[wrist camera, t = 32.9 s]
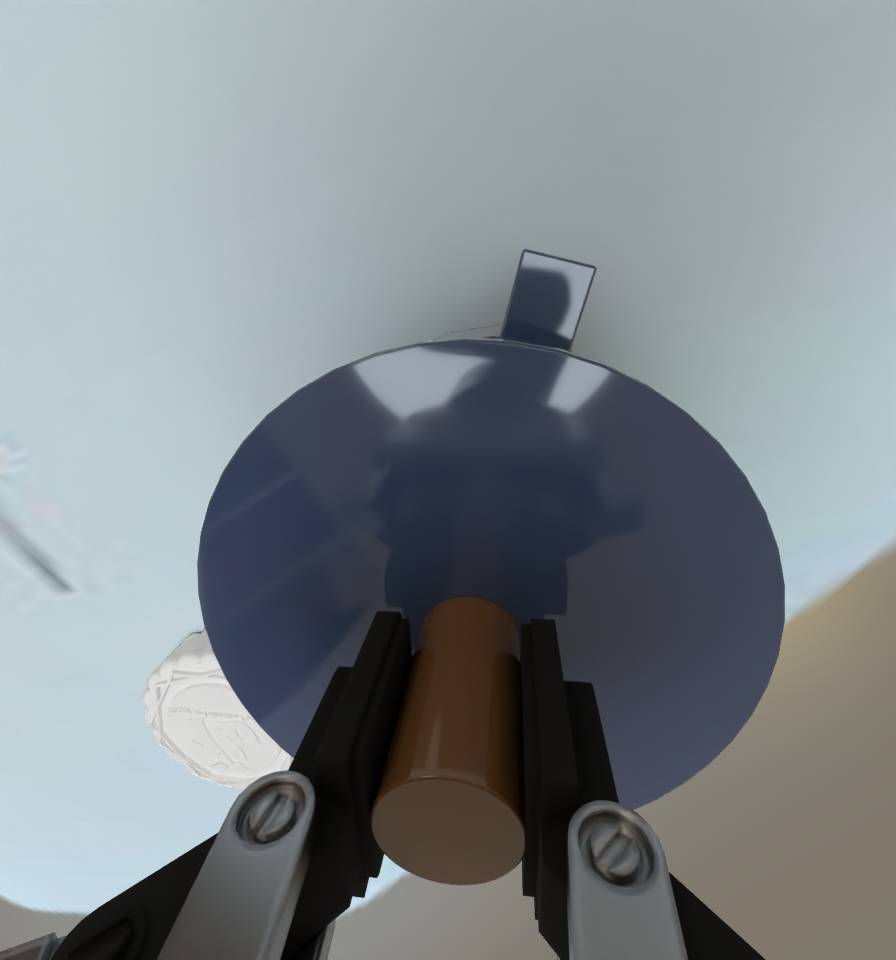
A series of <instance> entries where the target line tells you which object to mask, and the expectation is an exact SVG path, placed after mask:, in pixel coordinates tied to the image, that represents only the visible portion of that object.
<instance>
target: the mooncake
mask: <svg viewBox="0 0 896 960" xmlns="http://www.w3.org/2000/svg"><path fill="white" fill-rule="evenodd" d="M143 703H144V705H145V706H146V707H147V709H146V711H145V720H146V722H147V723H148V724H149V726H150V727H151V728H152V729H153V736H154V738H155V740H156V741H157V742H158V743H159V745H160V746H161V747H163V748H164V749H166V750H167V752H168V754H169V756H170V757H171V758H172V759H174V760H175V761H177V762H181V763H184V764H185V766H186V768H187V769H188V770H189V771H190V772H191V773H193V774H195V775H196V776H197V777H198V778H202V779H209V780H210V781H211V782H213V783H215V784H218V785H221V786H223V787H230V786H232V787H234V788H236V789H239V790H245V789H246V788H247V787H248V786H249V785H250V784H251V783H253V782H254V781H256V780H258V779H259V778H261V777H262V776H265V775H268V774H270V773H273V772H277V771H286V770H288V769H289V767H290V765H291V763H292V761H293V759H294V758H293V757H291V756H290V755H289V754H288V753H287V752H285V751H284V750H283V749H282V748H281V747H280V746H279V745H278V744H277V743H276V742H275V741H274V740H273V739H272V738H271V737H270V736H269V735H268V734H267V733H266V732H265V731H264V730H263V729H262V728H261V727H260V726H259V725H258V724H257V722H256V721H255V720H254V719H253V717H252V716H251V715H250V714H249V712H248V711H247V710H246V709H245V707H244V706H243V705H242V704H241V702H240V700H239V699H238V697H237V696H236V694H235V692H234V691H233V689H232V688H231V686H230V685H229V683H228V681H227V680H226V678H225V676H224V674H223V672H222V670H221V668H220V665H219V663H218V661H217V659H216V657H215V655H214V653H213V650H212V647H211V644H210V641H209V638H208V635H207V632H206V629H205V630H204V631H203V632H202V633H201V634H198V633H197V634H192V635H190V636H188V637H187V638H186V639H185V640H184V641H183V642H182V643H181V644H180V645H179V646H178V647H177V648H176V649H175V650H174V651H173V652H172V653H171V654H170V655H169V656H168V657H167V658H166V659H165V661H164V662H163V663H162V664H161V665H160V666H159V667H158V668H157V669H156V670H155V671H154V672H153V673H152V674H151V675H150V676H149V678H148V688H147V689H146V691H145V692H144V694H143Z"/></svg>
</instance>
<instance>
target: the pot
mask: <svg viewBox="0 0 896 960" xmlns="http://www.w3.org/2000/svg"><path fill="white" fill-rule="evenodd" d="M595 273H596V267H595V266H593V265H589V264H585V263H581V262H577V261H573V260H569V259H565V258H560V257H556V256H552V255H548V254H544V253H540V252H536V251H532V250H528V249H524V250H523V251H522V254H521V258H520V262H519V265H518V269H517V273H516V277H515V281H514V284H513V288H512V292H511V296H510V299H509V303H508V307H507V311H506V315H505V318H504V322H503V325H494V326H488V327H482V328H473V329H469V330H463V331H457V332H451V333H445V334H443V335H441V336H439V337H437V338H435V339H433V340H431V341H434V340H445V339H455V338H490V339H512V340H517V341H523V342H529V343H534V344H540V345H545V346H551V347H556V348H560V349H563V350H566V351H569V352H571V351H570V350H571V347H572V344H573V341H574V338H575V335H576V331H577V328H578V325H579V322H580V319H581V316H582V313H583V310H584V307H585V304H586V300H587V297H588V294H589V291H590V288H591V285H592V282H593V279H594V276H595Z"/></svg>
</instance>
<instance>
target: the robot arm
mask: <svg viewBox="0 0 896 960" xmlns="http://www.w3.org/2000/svg"><path fill="white" fill-rule="evenodd" d="M411 660H412V649H411V635H410V622H409V619H406V618H402V615H401V613H400V612H390V611H377V612H376V614H375V616H374V619H373V621H372V623H371V626H370V628H369V630H368V633H367V635H366V637H365V640H364V642H363V644H362V647H361V649H360V651H359V654H358V656H357V658H356V661H355V663H354V665H353V667H344V666H339V667H338V668H337V669H336V671H335V672H334V674H333V676H332V678H331V681H330V683H329V685H328V687H327V689H326V691H325V693H324V695H323V697H322V700H321V702H320V704H319V706H318V708H317V710H316V712H315V714H314V716H313V719H312V721H311V723H310V725H309V727H308V729H307V731H306V733H305V736H304V738H303V740H302V742H301V744H300V746H299V748H298V750H297V752H296V755H295V757H294V759H293V761H292V763H291V765H290V767H289V769H288V770H286V771H277V772H273V773H270V774H268V775H265V776H262V777H261V778H259V779H258V780H256V781H254V782H253V783H251V784H250V785H249V786H248V787H247V788H246V789H245V790H244V791H243V792H242V793H241V794H240V795H239V796H238V797H237V799H236V800H235V802H234V804H233V805H232V807H231V808H230V810H229V812H228V814H227V817H226V819H225V821H224V823H223V825H222V827H221V829H220V831H219V832H218V833H217V834H215V835H214V836H212V837H210V838H209V839H207V840H206V841H204V842H202V843H201V844H199V845H198V846H196V847H194V848H193V849H191V850H190V851H188V852H186V853H185V854H183V855H182V856H180V857H178V858H177V859H175V860H174V861H172V862H170V863H169V864H167V865H166V866H164V867H162V868H161V869H159V870H158V871H156V872H154V873H153V874H151V875H150V876H148V877H146V878H145V879H143V880H142V881H140V882H138V883H137V884H135V885H134V886H132V887H130V888H129V889H127V890H126V891H124V892H122V893H121V894H119V895H118V896H116V897H114V898H113V899H111V900H110V901H108V902H106V903H105V904H103V905H102V906H100V907H99V908H97V909H96V910H95V911H93V912H92V913H91V914H89V915H88V916H87V917H85V918H84V919H83V920H82V921H81V922H80V923H79V924H78V925H77V926H76V927H75V928H74V929H73V930H72V931H71V932H70V933H69V934H68V935H67V936H64V937H61V938H59V939H58V938H57V936H56V934H55V933H51V934H48V935H46V936H43V937H40V938H37V939H34V940H31V941H29V942H26V943H23V944H20V945H18V946H15V947H12V948H9V949H7V950H4V951H1V952H0V960H327V959H328V954H329V950H330V945H331V941H332V936H333V932H334V928H335V919H336V918H337V917H338V916H339V915H340V914H342V913H343V912H344V911H345V910H346V909H348V908H349V907H350V903H351V899H352V896H354V897H362V898H364V897H365V892H366V888H367V884H368V880H369V877H373V878H377V877H378V875H379V873H380V869H381V865H382V861H383V856H384V853H383V852H382V850H381V849H380V848H379V846H378V845H377V843H376V841H375V840H374V837H373V835H372V831H371V823H370V811H371V807H372V803H373V799H374V796H375V792H376V788H377V785H378V781H379V777H380V774H381V770H382V766H383V763H384V759H385V755H386V752H387V748H388V744H389V741H390V737H391V733H392V730H393V726H394V722H395V719H396V715H397V711H398V707H399V704H400V700H401V696H402V693H403V689H404V685H405V682H406V678H407V674H408V671H409V667H410V663H411ZM520 667H521V699H522V730H523V762H524V793H525V825H526V827H525V854H524V856H523V858H522V886H523V896H531V897H534V905H535V919H536V920H538V924H539V932H540V933H541V935H542V936H543V937H544V938H545V940H546V941H547V942H548V944H549V945H550V946H551V948H552V949H553V950H554V951H555V953H556V954H557V956H558V957H557V960H765V959H764V958H763V957H762V956H761V955H760V954H759V953H758V952H757V951H755V950H754V949H753V948H752V947H751V946H750V945H749V944H748V943H746V941H744V940H743V939H742V938H741V937H740V936H739V935H738V934H737V933H736V932H735V931H733V930H732V929H731V928H730V927H729V926H728V925H727V924H726V923H725V922H723V921H722V920H721V919H720V918H719V917H718V916H717V915H716V914H715V913H714V912H712V911H711V910H710V909H709V908H708V907H707V906H706V905H705V904H704V903H703V902H702V901H700V900H699V899H698V898H697V897H696V896H695V895H694V894H693V893H692V892H690V891H689V890H688V889H687V888H686V887H685V886H684V885H683V884H682V883H681V882H679V881H678V880H677V879H676V878H675V877H674V876H673V875H672V874H670V872H668V867H667V863H666V858H665V855H664V851H663V849H662V846H661V843H660V840H659V838H658V837H657V835H656V834H655V832H654V831H653V829H652V828H651V826H650V825H649V824H648V823H647V822H646V821H645V820H644V819H643V818H642V817H641V816H640V815H639V814H638V813H636V812H635V811H633V810H631V809H630V808H628V807H626V806H624V805H622V804H619V800H618V796H617V791H616V787H615V782H614V778H613V773H612V769H611V764H610V760H609V755H608V750H607V746H606V741H605V737H604V732H603V728H602V723H601V719H600V714H599V710H598V705H597V701H596V696H595V692H594V688H593V685H592V683H591V682H577V681H564V679H563V672H562V665H561V658H560V652H559V645H558V638H557V631H556V624H555V620H554V619H534V618H531V621H530V625H525V624H522V625H521V657H520Z"/></svg>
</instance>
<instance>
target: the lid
mask: <svg viewBox="0 0 896 960" xmlns="http://www.w3.org/2000/svg"><path fill="white" fill-rule="evenodd" d="M197 567H198V593H199V600H200V605H201V610H202V616H203V621H204V626H205V629H206V632H207V635H208V638H209V641H210V644H211V647H212V650H213V653H214V655H215V657H216V659H217V661H218V663H219V665H220V668H221V670H222V672H223V674H224V676H225V678H226V680H227V681H228V683H229V685H230V686H231V688H232V689H233V691H234V692H235V694H236V696H237V697H238V699H239V700H240V702H241V704H242V705H243V706H244V707H245V709H246V710H247V711H248V712H249V714H250V715H251V716H252V717H253V719H254V720H255V721H256V722H257V724H258V725H259V726H260V727H261V728H262V729H263V730H264V731H265V732H266V733H267V734H268V735H269V736H270V737H271V738H272V739H273V740H274V741H275V742H276V743H277V744H278V745H279V746H280V747H281V748H282V749H283V750H284V751H285V752H287V753H288V754H289V755H290V756H291V757H293V758H294V757H295V755H296V752H297V750H298V748H299V746H300V744H301V742H302V740H303V738H304V736H305V733H306V731H307V729H308V727H309V725H310V723H311V721H312V719H313V716H314V714H315V712H316V710H317V708H318V706H319V704H320V702H321V700H322V697H323V695H324V693H325V691H326V689H327V687H328V685H329V683H330V681H331V678H332V676H333V674H334V672H335V671H336V669H337V668H338V667H339V666H344V667H353V665H354V663H355V661H356V658H357V656H358V654H359V651H360V649H361V647H362V644H363V642H364V640H365V637H366V635H367V633H368V630H369V628H370V626H371V623H372V621H373V619H374V616H375V614H376V612H377V611H390V612H400V613H401V615H402V618H406V619H409V622H410V635H411V649H412V660H411V663H410V667H409V671H408V674H407V678H406V682H405V685H404V689H403V693H402V696H401V700H400V704H399V707H398V711H397V715H396V719H395V722H394V726H393V730H392V733H391V737H390V741H389V744H388V748H387V752H386V755H385V759H384V763H383V766H382V770H381V774H380V777H379V781H378V785H377V788H376V792H375V796H374V799H373V803H372V807H371V811H370V823H371V831H372V835H373V837H374V840H375V841H376V843H377V845H378V846H379V848H380V849H381V850H382V852H383V853H384V854H385V855H386V856H387V857H388V858H389V859H390V860H392V861H393V862H394V863H395V864H397V865H398V866H400V867H401V868H403V869H404V870H406V871H408V872H410V873H412V874H414V875H416V876H419V877H421V878H424V879H427V880H430V881H434V882H438V883H444V884H450V885H475V884H481V883H486V882H490V881H493V880H496V879H498V878H500V877H503V876H504V875H506V874H508V873H509V872H511V871H512V870H513V869H514V868H515V867H516V866H517V865H518V864H519V863H520V862H521V860H522V858H523V856H524V854H525V827H526V825H525V793H524V762H523V730H522V699H521V667H520V657H521V625H522V624H525V625H530V621H531V618H534V619H554V620H555V624H556V631H557V638H558V645H559V652H560V658H561V665H562V672H563V679H564V681H577V682H591V683H592V685H593V688H594V692H595V696H596V701H597V705H598V710H599V714H600V719H601V723H602V728H603V732H604V737H605V741H606V746H607V750H608V755H609V760H610V764H611V769H612V773H613V778H614V782H615V787H616V791H617V796H618V800H619V804H622V805H624V806H626V807H628V808H630V809H631V810H635V809H637V808H639V807H641V806H643V805H646V804H648V803H650V802H652V801H654V800H657V799H658V798H660V797H662V796H664V795H665V794H667V793H668V792H670V791H672V790H674V789H675V788H677V787H679V786H680V785H682V784H684V783H685V782H686V781H688V780H689V779H690V778H692V777H693V776H694V775H696V774H697V773H698V772H699V771H701V770H702V769H703V768H704V767H706V766H707V765H708V764H710V763H711V762H712V761H713V760H714V759H715V758H716V757H717V756H718V755H719V754H720V753H721V752H722V751H723V750H724V749H725V748H726V747H727V746H728V745H729V744H730V743H731V742H732V741H733V739H734V738H735V737H736V735H737V734H738V733H739V732H740V730H741V729H742V728H743V726H744V725H745V723H746V722H747V721H748V719H749V718H750V717H751V716H752V714H753V712H754V710H755V708H756V707H757V705H758V703H759V701H760V699H761V697H762V695H763V694H764V692H765V690H766V688H767V686H768V683H769V680H770V678H771V675H772V672H773V669H774V666H775V663H776V660H777V657H778V655H779V650H780V643H781V638H782V632H783V627H784V621H785V585H784V579H783V573H782V567H781V561H780V555H779V549H778V546H777V543H776V540H775V537H774V534H773V532H772V529H771V526H770V523H769V520H768V517H767V515H766V512H765V510H764V508H763V506H762V504H761V503H760V501H759V499H758V497H757V495H756V494H755V492H754V490H753V488H752V486H751V485H750V483H749V481H748V479H747V477H746V476H745V474H744V473H743V472H742V470H741V469H740V468H739V467H738V465H737V464H736V463H735V462H734V460H733V459H732V458H731V457H730V455H729V454H728V453H727V452H726V450H725V449H724V448H723V446H722V445H721V444H720V443H719V442H718V441H717V440H716V439H715V438H714V437H713V436H712V435H711V434H710V433H709V432H708V431H707V430H706V429H704V428H703V427H702V426H701V425H700V424H699V423H698V422H697V421H696V420H695V419H694V418H693V417H691V416H690V415H689V414H688V413H687V412H686V411H685V410H683V409H682V408H680V407H679V406H677V405H676V404H674V403H673V402H671V401H670V400H668V399H667V398H666V397H664V396H663V395H661V394H660V393H658V392H657V391H655V390H654V389H652V388H651V387H649V386H648V385H646V384H644V383H643V382H641V381H639V380H637V379H635V378H633V377H631V376H629V375H627V374H625V373H622V372H620V371H618V370H616V369H614V368H612V367H610V366H608V365H606V364H604V363H602V362H599V361H596V360H593V359H590V358H587V357H584V356H581V355H578V354H575V353H572V352H569V351H566V350H563V349H560V348H556V347H551V346H545V345H540V344H534V343H529V342H523V341H517V340H512V339H490V338H455V339H445V340H434V341H424V342H418V343H414V344H410V345H405V346H401V347H397V348H393V349H389V350H384V351H380V352H377V353H374V354H372V355H369V356H367V357H364V358H362V359H359V360H357V361H354V362H351V363H349V364H346V365H344V366H341V367H339V368H336V369H334V370H332V371H330V372H328V373H327V374H325V375H323V376H322V377H320V378H318V379H316V380H315V381H313V382H311V383H309V384H308V385H306V386H304V387H302V388H301V389H299V390H297V391H296V392H295V393H294V394H292V395H291V396H290V397H289V398H287V399H286V400H285V401H284V402H282V403H281V404H280V405H279V406H277V407H276V408H275V409H274V410H272V411H271V412H270V413H269V414H267V416H266V417H265V418H264V419H263V420H262V421H261V422H260V423H259V424H258V425H257V426H256V427H255V429H254V430H253V431H252V432H251V433H250V434H249V435H248V436H247V437H246V438H245V439H244V441H243V442H242V443H241V445H240V446H239V448H238V449H237V451H236V452H235V454H234V455H233V457H232V458H231V460H230V461H229V463H228V464H227V466H226V467H225V469H224V471H223V473H222V475H221V477H220V479H219V482H218V484H217V486H216V488H215V490H214V493H213V495H212V497H211V499H210V502H209V505H208V509H207V512H206V516H205V520H204V523H203V527H202V531H201V536H200V545H199V554H198V563H197Z"/></svg>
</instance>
